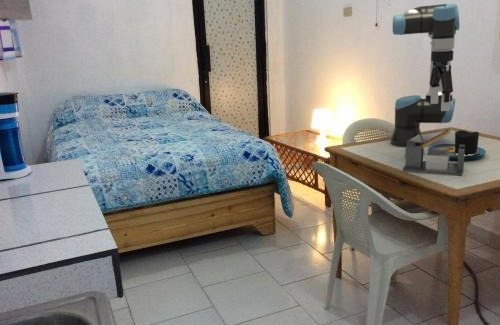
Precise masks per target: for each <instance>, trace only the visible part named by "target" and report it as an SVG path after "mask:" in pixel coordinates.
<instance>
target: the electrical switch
mask: <svg viewBox="0 0 500 325" xmlns="http://www.w3.org/2000/svg"><path fill="white" fill-rule="evenodd" d="M409 141H410V142H422V140H421V136H420V135H417V136H416V137H414V138H411V139H409V140H408V141H407V142H406V143H407V144H408V142H409ZM425 151H426V150H424V151H423V156H424V155H425V154H426V152H425Z"/></svg>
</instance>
